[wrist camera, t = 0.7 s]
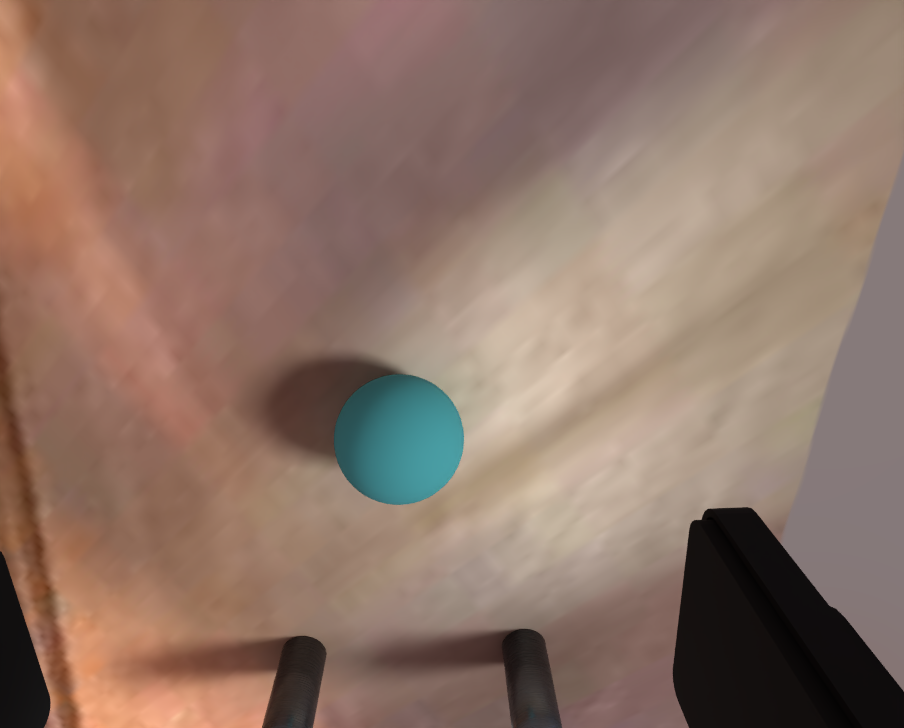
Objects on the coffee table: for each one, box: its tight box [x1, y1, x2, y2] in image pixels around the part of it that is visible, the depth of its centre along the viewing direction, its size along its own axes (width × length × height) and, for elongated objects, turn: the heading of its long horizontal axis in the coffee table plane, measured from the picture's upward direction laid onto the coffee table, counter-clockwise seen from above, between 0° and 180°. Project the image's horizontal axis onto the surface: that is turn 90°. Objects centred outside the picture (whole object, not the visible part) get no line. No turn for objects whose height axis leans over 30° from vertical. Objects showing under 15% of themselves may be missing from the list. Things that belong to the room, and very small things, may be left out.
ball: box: [334, 374, 464, 505], centre depth 31 cm, size 6×6×6 cm
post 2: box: [502, 629, 562, 728], centre depth 36 cm, size 3×3×9 cm
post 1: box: [262, 636, 326, 728], centre depth 36 cm, size 3×3×9 cm
